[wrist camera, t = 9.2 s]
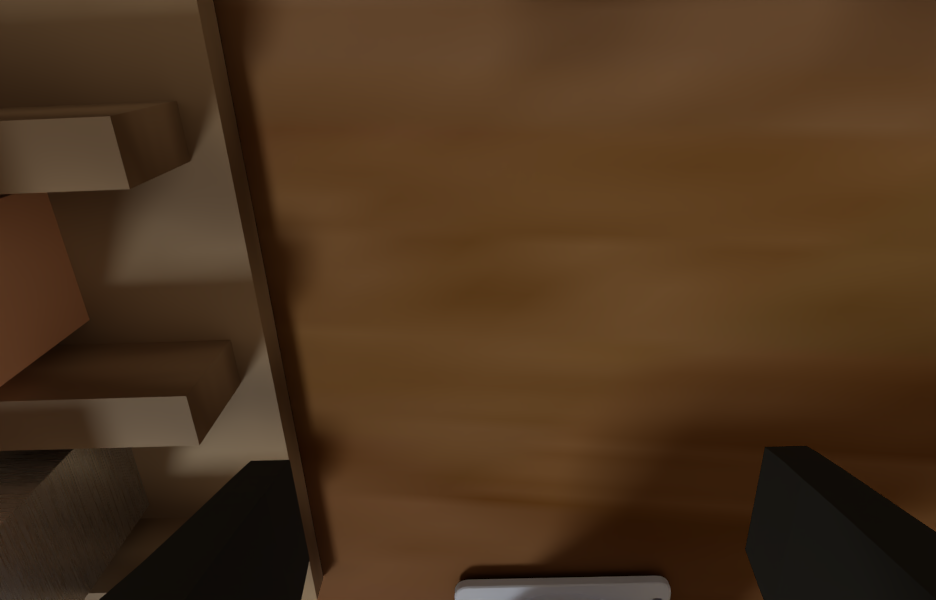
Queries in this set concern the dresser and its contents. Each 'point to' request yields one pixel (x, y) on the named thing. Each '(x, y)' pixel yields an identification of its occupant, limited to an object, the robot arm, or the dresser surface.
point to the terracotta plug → (33, 283)
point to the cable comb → (145, 257)
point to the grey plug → (64, 518)
